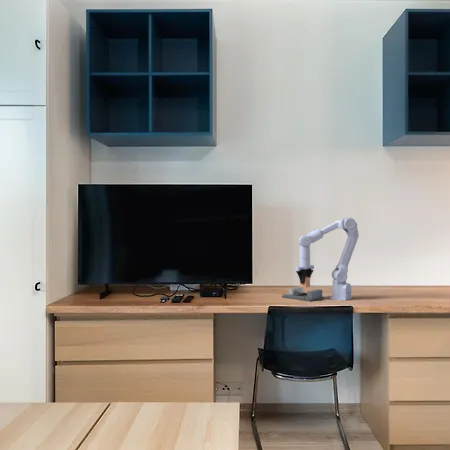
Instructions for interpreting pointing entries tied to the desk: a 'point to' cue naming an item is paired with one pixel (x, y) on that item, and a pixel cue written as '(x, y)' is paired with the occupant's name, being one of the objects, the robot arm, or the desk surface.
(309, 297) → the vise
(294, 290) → the moving jaw
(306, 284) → the block
